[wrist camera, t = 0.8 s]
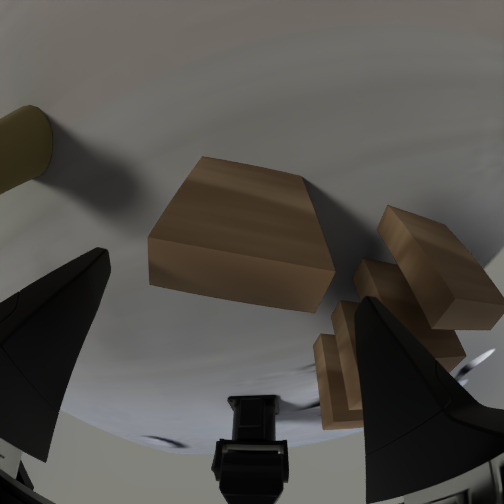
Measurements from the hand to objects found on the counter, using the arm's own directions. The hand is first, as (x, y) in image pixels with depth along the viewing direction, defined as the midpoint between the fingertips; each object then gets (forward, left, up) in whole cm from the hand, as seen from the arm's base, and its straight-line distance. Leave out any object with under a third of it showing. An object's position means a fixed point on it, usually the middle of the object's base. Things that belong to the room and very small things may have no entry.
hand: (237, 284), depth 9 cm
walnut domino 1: (0, 0, -9) cm, 9 cm away
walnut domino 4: (-4, -12, -9) cm, 15 cm away
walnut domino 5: (-9, -10, -9) cm, 16 cm away
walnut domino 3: (-17, -7, -9) cm, 21 cm away
